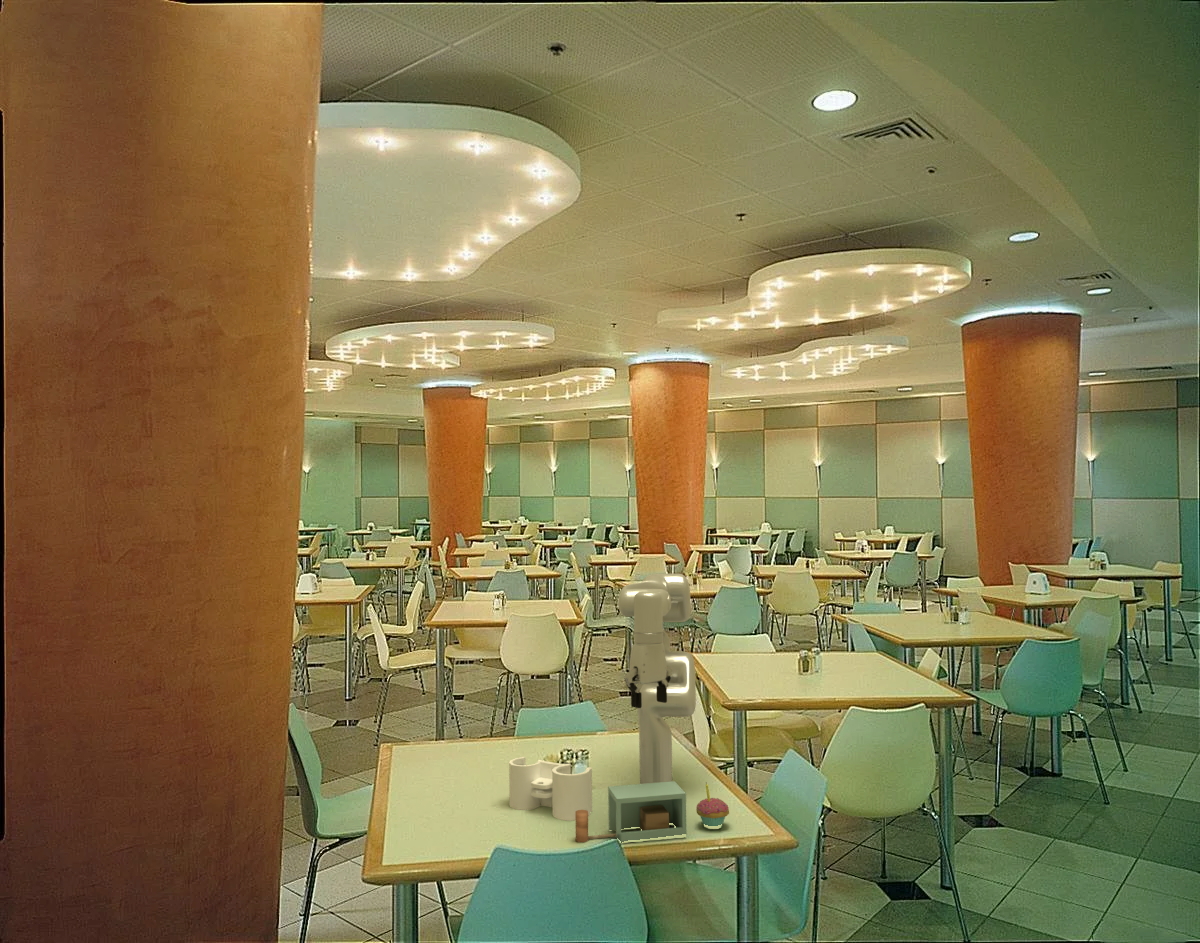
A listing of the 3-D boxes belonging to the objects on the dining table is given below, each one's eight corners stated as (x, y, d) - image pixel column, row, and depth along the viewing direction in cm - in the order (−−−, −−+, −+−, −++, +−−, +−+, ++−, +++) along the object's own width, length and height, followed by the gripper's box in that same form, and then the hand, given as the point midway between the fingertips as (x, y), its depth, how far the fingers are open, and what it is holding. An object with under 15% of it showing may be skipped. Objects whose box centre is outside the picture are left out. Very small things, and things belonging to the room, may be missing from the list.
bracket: (501, 807, 252) (501, 764, 252) (522, 797, 260) (521, 755, 261) (577, 823, 239) (576, 777, 240) (596, 812, 248) (595, 767, 248)
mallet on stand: (573, 836, 230) (573, 808, 230) (662, 828, 235) (662, 801, 235) (577, 844, 224) (577, 816, 224) (669, 836, 229) (668, 808, 229)
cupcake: (711, 835, 230) (711, 787, 230) (689, 825, 236) (688, 779, 237) (736, 827, 235) (735, 781, 235) (713, 818, 241) (712, 773, 242)
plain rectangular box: (608, 830, 234) (608, 786, 234) (675, 824, 238) (674, 781, 238) (617, 844, 224) (616, 799, 224) (686, 838, 228) (685, 793, 228)
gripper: (660, 634, 246) (660, 698, 245) (615, 640, 234) (615, 707, 233) (681, 637, 241) (681, 702, 240) (636, 643, 229) (636, 711, 228)
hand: (649, 704), depth 236 cm, fingers open, 9 cm apart
